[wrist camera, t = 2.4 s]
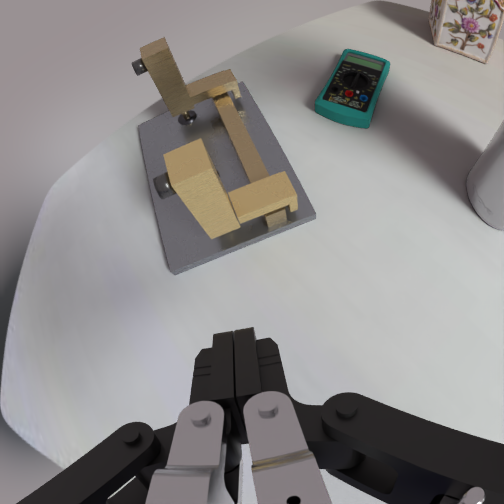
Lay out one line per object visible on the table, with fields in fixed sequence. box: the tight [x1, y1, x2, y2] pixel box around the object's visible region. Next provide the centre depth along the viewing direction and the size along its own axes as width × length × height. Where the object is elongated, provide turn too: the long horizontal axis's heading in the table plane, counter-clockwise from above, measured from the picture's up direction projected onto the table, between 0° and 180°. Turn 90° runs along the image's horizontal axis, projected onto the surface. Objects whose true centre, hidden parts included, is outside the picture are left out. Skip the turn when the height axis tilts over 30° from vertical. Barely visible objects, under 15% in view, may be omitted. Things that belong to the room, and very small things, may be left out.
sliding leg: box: [153, 138, 298, 239], centre depth 27 cm, size 10×3×12 cm, turn 110°
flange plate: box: [138, 82, 316, 275], centre depth 37 cm, size 16×23×1 cm
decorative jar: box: [429, 0, 504, 64], centre depth 32 cm, size 12×12×18 cm
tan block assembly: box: [132, 38, 287, 227], centre depth 30 cm, size 10×22×12 cm, turn 20°
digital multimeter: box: [315, 49, 390, 128], centre depth 37 cm, size 7×15×3 cm, turn 153°
